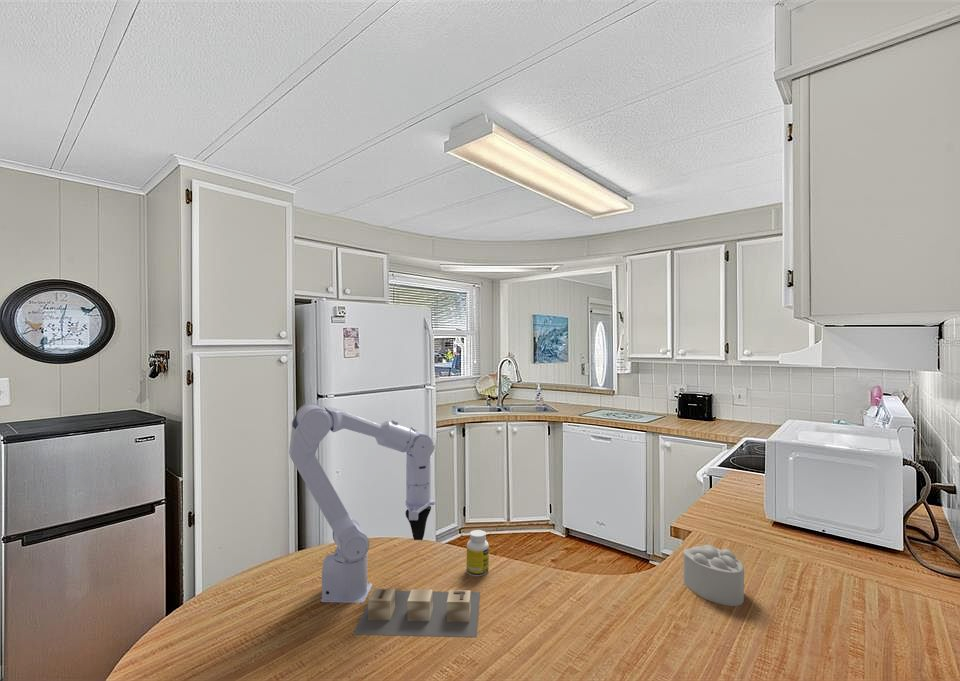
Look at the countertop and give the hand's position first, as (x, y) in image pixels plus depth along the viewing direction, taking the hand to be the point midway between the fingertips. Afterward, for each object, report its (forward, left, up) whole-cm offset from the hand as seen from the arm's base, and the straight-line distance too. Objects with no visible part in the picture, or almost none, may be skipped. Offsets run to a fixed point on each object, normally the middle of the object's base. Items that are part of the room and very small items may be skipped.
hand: (418, 538), depth 115 cm
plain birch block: (+3, -16, -9) cm, 19 cm away
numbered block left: (-5, -16, -9) cm, 19 cm away
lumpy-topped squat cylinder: (+69, -3, -10) cm, 69 cm away
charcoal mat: (+3, -15, -9) cm, 18 cm away
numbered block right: (+11, -16, -9) cm, 21 cm away
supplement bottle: (+14, +3, -10) cm, 17 cm away
